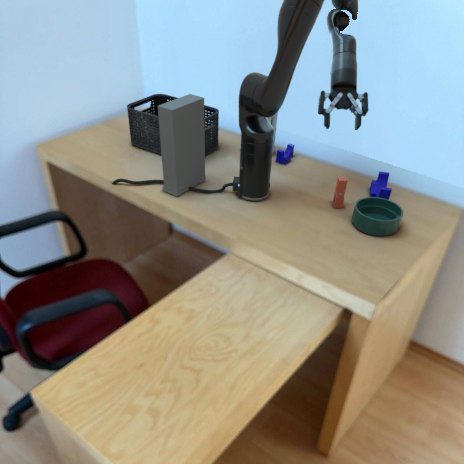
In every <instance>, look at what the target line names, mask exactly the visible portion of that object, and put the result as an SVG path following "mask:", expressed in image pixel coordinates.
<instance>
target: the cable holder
mask: <svg viewBox="0 0 464 464" xmlns="http://www.w3.org/2000/svg"><path fill="white" fill-rule="evenodd" d="M294 150H295V144H293V143H288V144H287V145H286V148H285V150H284V149H280V148H279V149H277V150H276V157H275V162H276V163H279V164H281V165H286V164H288V163H290V162H291V160H292V158H293V157H294Z"/></svg>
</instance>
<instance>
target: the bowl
mask: <svg viewBox="0 0 464 464" xmlns="http://www.w3.org/2000/svg"><path fill="white" fill-rule="evenodd" d="M403 217H404V210H403V208H402V207H401V206H400V205H399V204H398V203H397V202H395V201H393V200H390V199H389V200H387V199H384V198H379V197H370V196H367V197H362V198H359V199H358V200H357V201H355V204H354V207H353V211H352V215H351V223H352V225H353V226H354V227H355V228H356V229H357V230H359V231H361V232H363V233H365V234H367V235H370V236H375V237H376V236H377V237H385V236H390V235H392V234H395V233H397V231H398V230H399V228H400V225H401V223H402V219H403Z"/></svg>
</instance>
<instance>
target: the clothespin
mask: <svg viewBox="0 0 464 464" xmlns="http://www.w3.org/2000/svg"><path fill="white" fill-rule="evenodd" d="M336 180H337V181H336V184H335V185H336V186H335V190H334V192H333V197H332V205H333V208H334V209H343V207H344V202H345V195H346V192H347V191H346V190H347V186H348V182H349V181H348V178H347V176H338V177H337V179H336Z"/></svg>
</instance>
